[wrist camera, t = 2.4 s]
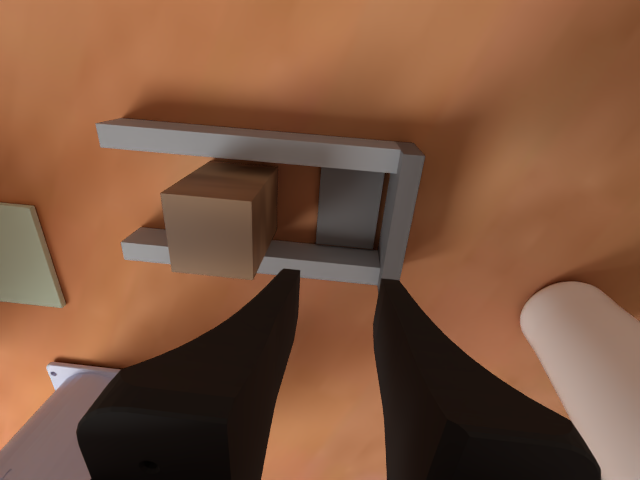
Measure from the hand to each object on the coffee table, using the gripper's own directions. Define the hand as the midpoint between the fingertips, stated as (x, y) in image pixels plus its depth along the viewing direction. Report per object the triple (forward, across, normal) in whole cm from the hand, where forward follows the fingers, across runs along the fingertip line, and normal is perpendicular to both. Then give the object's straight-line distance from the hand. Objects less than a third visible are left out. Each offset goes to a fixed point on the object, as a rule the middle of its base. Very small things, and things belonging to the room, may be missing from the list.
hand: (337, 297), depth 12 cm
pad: (+9, +24, +6) cm, 26 cm away
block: (+10, +6, 0) cm, 11 cm away
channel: (+9, +5, 0) cm, 11 cm away
